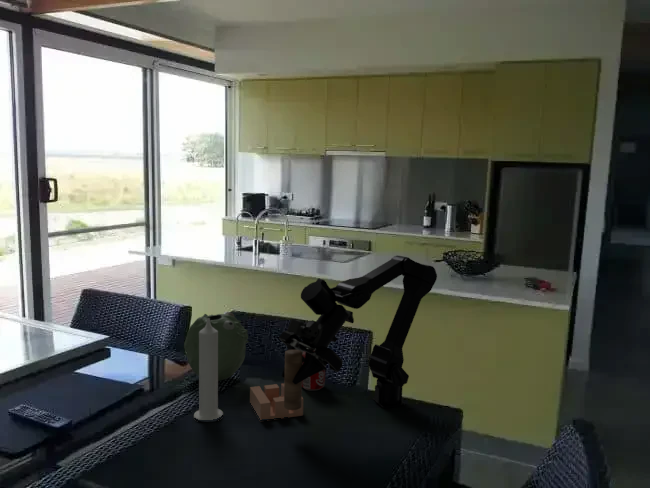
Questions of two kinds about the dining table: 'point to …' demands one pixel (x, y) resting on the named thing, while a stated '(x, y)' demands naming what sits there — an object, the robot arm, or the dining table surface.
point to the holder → (271, 402)
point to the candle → (208, 374)
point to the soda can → (314, 380)
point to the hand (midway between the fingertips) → (288, 380)
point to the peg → (290, 389)
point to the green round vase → (219, 343)
